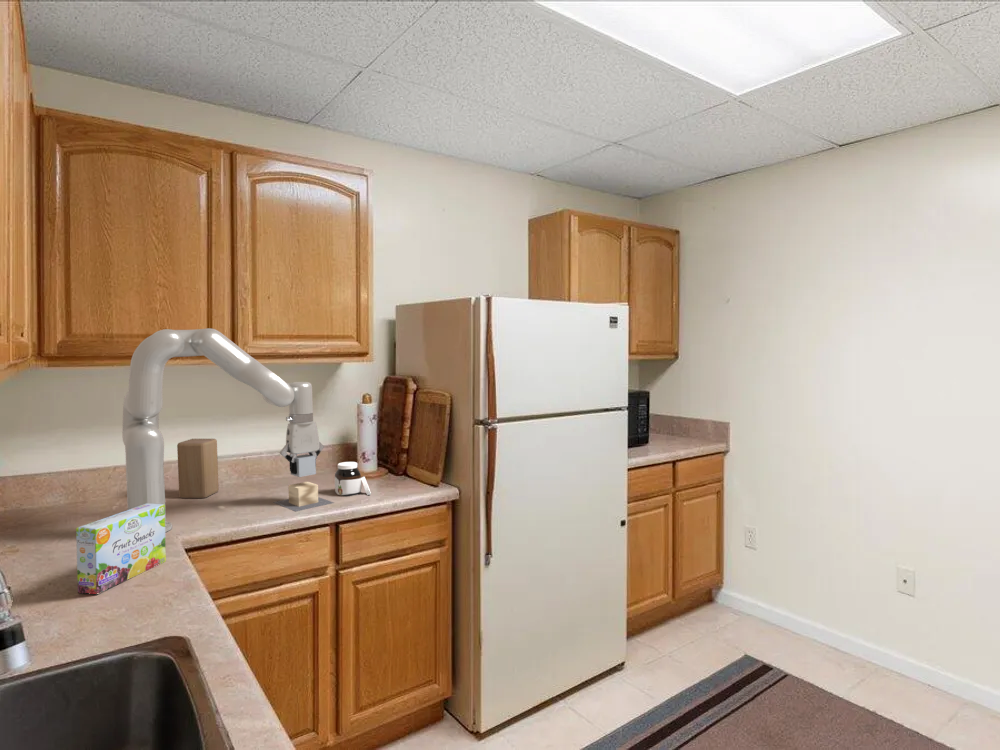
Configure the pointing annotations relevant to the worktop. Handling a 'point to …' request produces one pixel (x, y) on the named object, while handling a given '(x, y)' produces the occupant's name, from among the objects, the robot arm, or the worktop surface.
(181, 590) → the worktop surface
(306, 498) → the base block
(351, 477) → the spread jar
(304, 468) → the grey cube
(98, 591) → the snack box
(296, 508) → the build mat
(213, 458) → the block
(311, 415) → the robot arm
